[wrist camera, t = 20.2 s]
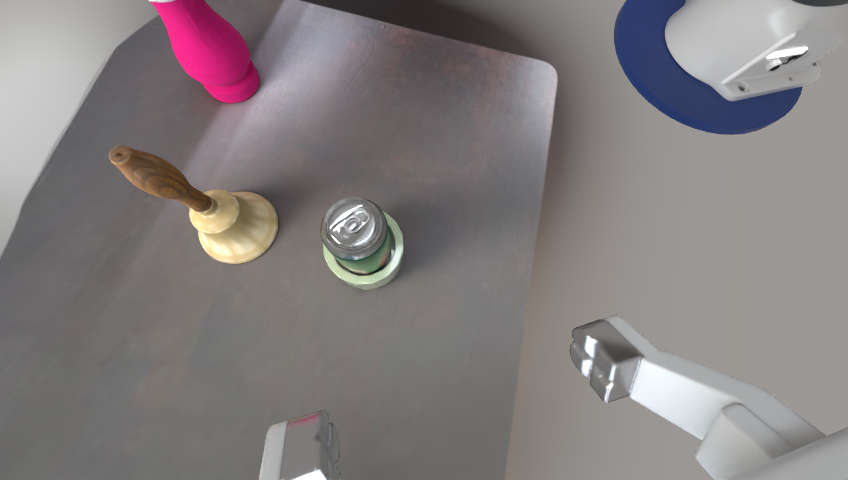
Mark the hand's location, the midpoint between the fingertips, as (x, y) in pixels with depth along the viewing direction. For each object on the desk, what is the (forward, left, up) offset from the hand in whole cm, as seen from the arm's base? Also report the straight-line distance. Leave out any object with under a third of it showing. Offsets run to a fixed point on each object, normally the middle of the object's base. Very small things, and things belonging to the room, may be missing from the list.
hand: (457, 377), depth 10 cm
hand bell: (+19, -13, -25) cm, 34 cm away
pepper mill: (+21, -32, -25) cm, 46 cm away
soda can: (+5, -9, -24) cm, 26 cm away
